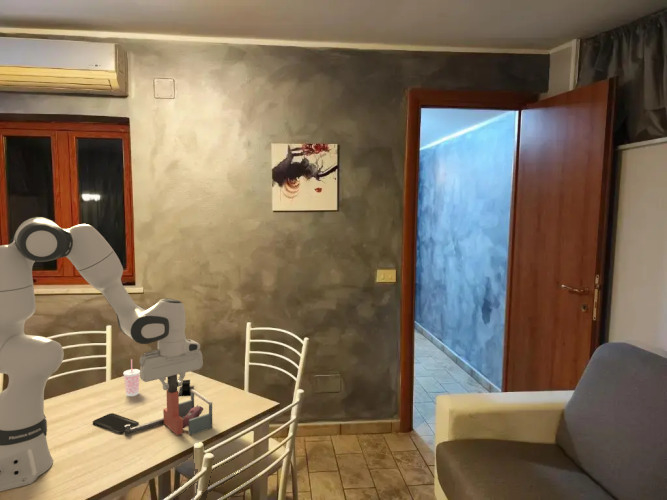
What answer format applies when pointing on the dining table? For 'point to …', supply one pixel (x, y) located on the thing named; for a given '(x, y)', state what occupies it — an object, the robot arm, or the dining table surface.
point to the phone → (114, 423)
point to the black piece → (185, 388)
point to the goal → (198, 422)
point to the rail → (142, 426)
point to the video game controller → (192, 415)
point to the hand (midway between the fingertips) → (172, 387)
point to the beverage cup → (132, 381)
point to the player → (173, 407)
